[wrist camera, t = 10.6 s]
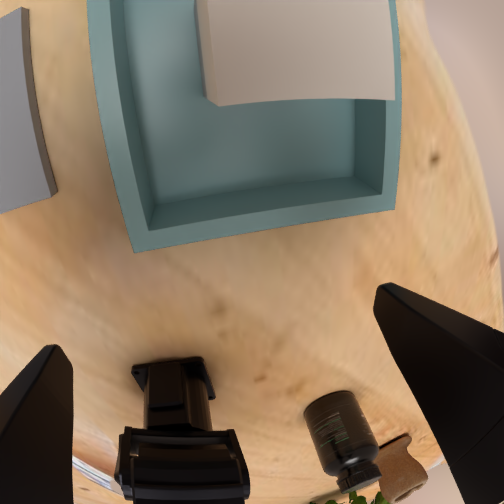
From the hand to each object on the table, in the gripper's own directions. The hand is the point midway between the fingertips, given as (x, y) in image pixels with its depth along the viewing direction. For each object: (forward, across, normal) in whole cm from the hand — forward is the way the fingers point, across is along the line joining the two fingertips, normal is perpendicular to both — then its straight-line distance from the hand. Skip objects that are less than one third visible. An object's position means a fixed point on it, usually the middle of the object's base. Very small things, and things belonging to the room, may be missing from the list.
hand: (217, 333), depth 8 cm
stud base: (+11, +14, -8) cm, 20 cm away
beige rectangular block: (+10, -4, -8) cm, 14 cm away
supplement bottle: (+12, -11, +29) cm, 33 cm away
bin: (+11, -4, -8) cm, 14 cm away
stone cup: (+13, -28, +63) cm, 70 cm away
